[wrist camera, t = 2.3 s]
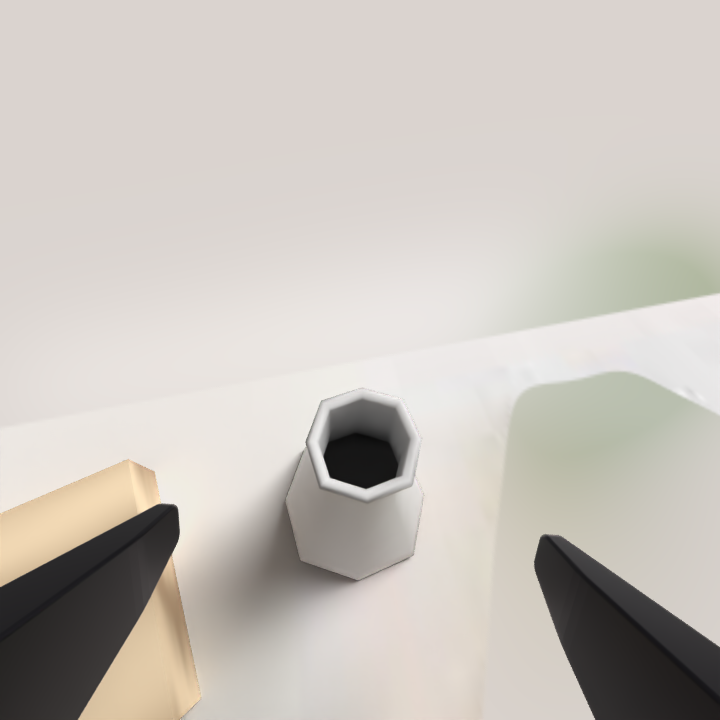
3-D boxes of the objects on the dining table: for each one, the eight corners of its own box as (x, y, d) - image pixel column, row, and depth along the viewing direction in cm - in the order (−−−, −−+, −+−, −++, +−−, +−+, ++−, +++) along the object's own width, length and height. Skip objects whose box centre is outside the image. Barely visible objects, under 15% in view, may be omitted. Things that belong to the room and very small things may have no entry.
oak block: (205, 694, 14) (173, 724, 11) (-96, 885, 11) (-226, 982, 9) (158, 473, 18) (128, 459, 16) (-67, 573, 16) (-147, 575, 13)
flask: (290, 433, 19) (246, 332, 11) (414, 430, 20) (467, 330, 11) (280, 584, 16) (201, 613, 7) (433, 576, 16) (534, 594, 7)
